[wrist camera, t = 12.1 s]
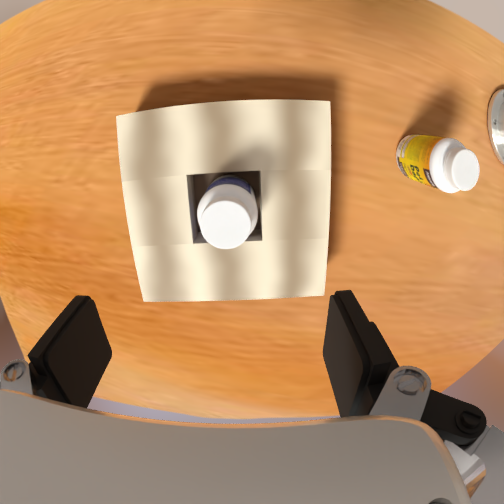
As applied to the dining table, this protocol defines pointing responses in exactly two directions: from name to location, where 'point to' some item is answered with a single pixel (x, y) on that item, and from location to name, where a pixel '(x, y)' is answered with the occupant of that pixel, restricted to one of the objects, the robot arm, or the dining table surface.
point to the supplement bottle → (438, 162)
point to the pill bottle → (227, 212)
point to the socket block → (217, 165)
